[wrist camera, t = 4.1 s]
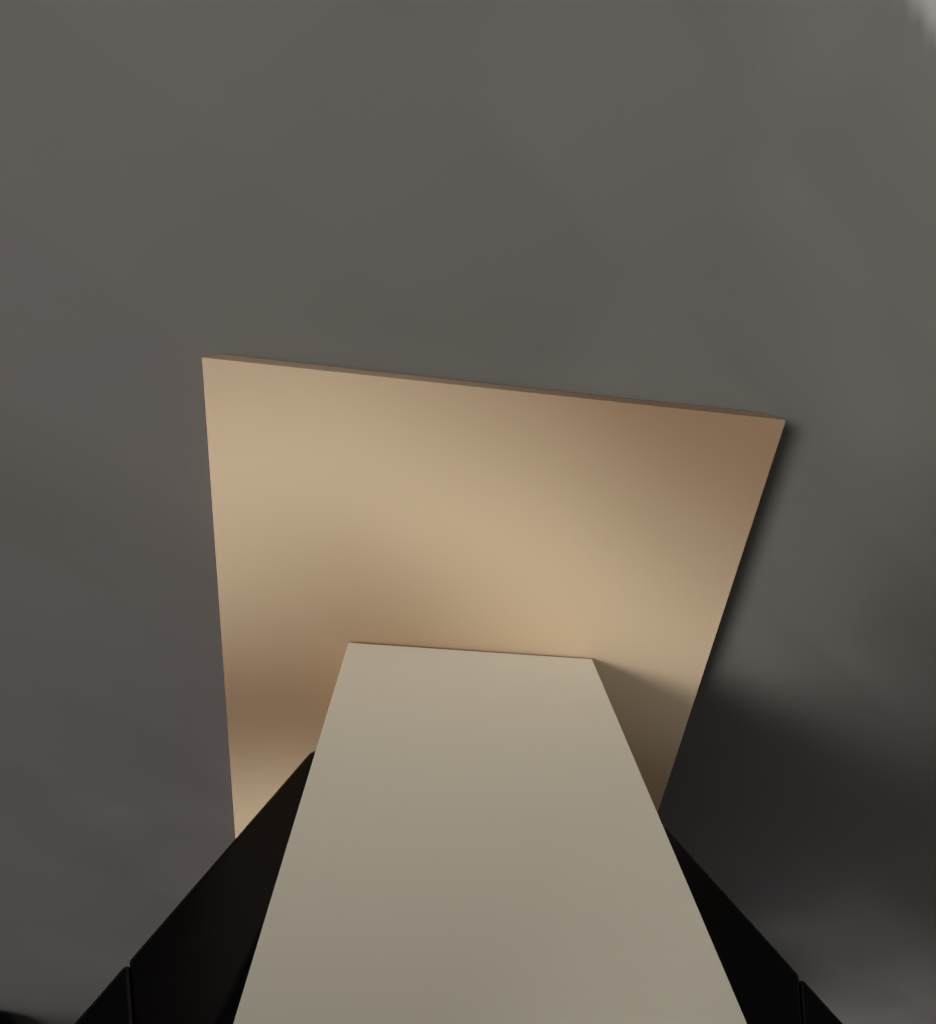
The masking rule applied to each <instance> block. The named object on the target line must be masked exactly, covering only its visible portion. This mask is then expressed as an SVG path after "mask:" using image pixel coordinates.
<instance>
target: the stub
mask: <svg viewBox="0 0 936 1024" xmlns="http://www.w3.org/2000/svg"><path fill="white" fill-rule="evenodd" d="M233 1024H747V1023H746V1020H745V1018H744V1016H743V1013H742V1011H741V1009H740V1006H739V1004H738V1002H737V999H736V997H735V995H734V992H733V990H732V987H731V985H730V983H729V980H728V978H727V976H726V973H725V971H724V969H723V966H722V964H721V962H720V959H719V957H718V955H717V952H716V950H715V948H714V945H713V943H712V940H711V938H710V936H709V933H708V931H707V929H706V926H705V924H704V922H703V919H702V917H701V915H700V912H699V910H698V908H697V905H696V903H695V901H694V898H693V896H692V893H691V891H690V889H689V886H688V884H687V882H686V879H685V877H684V875H683V872H682V870H681V868H680V865H679V863H678V861H677V858H676V856H675V853H674V851H673V849H672V846H671V844H670V842H669V839H668V837H667V835H666V832H665V830H664V828H663V825H662V823H661V821H660V818H659V816H658V814H657V811H656V809H655V806H654V804H653V802H652V799H651V797H650V795H649V792H648V790H647V788H646V785H645V783H644V781H643V778H642V776H641V774H640V771H639V769H638V767H637V764H636V762H635V759H634V757H633V755H632V752H631V750H630V748H629V745H628V743H627V741H626V738H625V736H624V734H623V731H622V729H621V727H620V724H619V722H618V720H617V717H616V715H615V712H614V710H613V708H612V705H611V703H610V701H609V698H608V696H607V694H606V691H605V689H604V687H603V684H602V682H601V680H600V677H599V675H598V673H597V670H596V668H595V665H594V663H593V661H592V659H581V658H566V657H552V656H537V655H522V654H508V653H493V652H478V651H463V650H449V649H434V648H419V647H405V646H390V645H375V644H361V643H348V646H347V649H346V652H345V655H344V659H343V662H342V665H341V669H340V672H339V675H338V679H337V682H336V685H335V689H334V692H333V695H332V698H331V702H330V705H329V708H328V712H327V715H326V718H325V722H324V725H323V728H322V732H321V735H320V738H319V742H318V745H317V748H316V751H315V755H314V758H313V761H312V765H311V768H310V771H309V775H308V778H307V781H306V785H305V788H304V791H303V794H302V798H301V801H300V804H299V808H298V811H297V814H296V818H295V821H294V824H293V828H292V831H291V834H290V838H289V841H288V844H287V847H286V851H285V854H284V857H283V861H282V864H281V867H280V871H279V874H278V877H277V881H276V884H275V887H274V890H273V894H272V897H271V900H270V904H269V907H268V910H267V914H266V917H265V920H264V924H263V927H262V930H261V934H260V937H259V940H258V943H257V947H256V950H255V953H254V957H253V960H252V963H251V967H250V970H249V973H248V977H247V980H246V983H245V986H244V990H243V993H242V996H241V1000H240V1003H239V1006H238V1010H237V1013H236V1016H235V1020H234V1023H233Z"/></svg>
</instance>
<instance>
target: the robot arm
mask: <svg viewBox="0 0 936 1024" xmlns="http://www.w3.org/2000/svg"><path fill="white" fill-rule="evenodd" d="M314 755H315V751H313V752H311V753H310V754H309V755H308V756H307V757H306V758H305V759H304V760H303V762H302V763H301V764H300V765H299V766H298V767H297V769H296V770H295V771H294V772H293V773H292V774H291V775H290V777H289V778H288V779H287V780H286V781H285V782H284V784H283V785H282V786H281V787H280V788H279V789H278V790H277V792H276V793H275V794H274V795H273V796H272V797H271V799H270V800H269V801H268V802H267V803H266V804H265V805H264V807H263V808H262V809H261V810H260V811H259V812H258V814H257V815H256V816H255V817H254V818H253V819H252V820H251V822H250V823H249V824H248V825H247V826H246V827H245V829H244V830H243V831H242V832H241V833H240V834H239V835H238V837H237V838H236V839H235V840H234V841H233V842H232V844H231V845H230V846H229V847H228V848H227V849H226V850H225V852H224V853H223V854H222V855H221V856H220V857H219V859H218V860H217V861H216V862H215V863H214V864H213V865H212V867H211V868H210V869H209V870H208V871H207V872H206V874H205V875H204V876H203V877H202V878H201V879H200V880H199V882H198V883H197V884H196V885H195V886H194V887H193V889H192V890H191V891H190V892H189V893H188V894H187V895H186V897H185V898H184V899H183V900H182V901H181V902H180V904H179V905H178V906H177V907H176V908H175V909H174V910H173V912H172V913H171V914H170V915H169V916H168V917H167V919H166V920H165V921H164V922H163V923H162V924H161V925H160V927H159V928H158V929H157V930H156V931H155V932H154V934H153V935H152V936H151V937H150V938H149V939H148V940H147V942H146V943H145V944H144V945H143V946H142V947H141V949H140V950H139V951H138V952H137V953H136V954H135V955H134V957H133V958H132V959H131V961H130V968H129V967H124V968H123V969H122V970H121V971H120V972H119V973H118V975H117V976H116V977H115V978H114V979H113V980H112V982H111V983H110V984H109V985H108V986H107V987H106V989H105V990H104V991H103V992H102V993H101V994H100V996H99V997H98V998H97V999H96V1000H95V1001H94V1002H93V1004H92V1005H91V1006H90V1007H89V1008H88V1009H87V1010H86V1011H85V1012H84V1014H83V1015H82V1016H81V1017H80V1018H79V1019H78V1020H77V1021H76V1022H75V1024H233V1023H234V1020H235V1016H236V1013H237V1010H238V1006H239V1003H240V1000H241V996H242V993H243V990H244V986H245V983H246V980H247V977H248V973H249V970H250V967H251V963H252V960H253V957H254V953H255V950H256V947H257V943H258V940H259V937H260V934H261V930H262V927H263V924H264V920H265V917H266V914H267V910H268V907H269V904H270V900H271V897H272V894H273V890H274V887H275V884H276V881H277V877H278V874H279V871H280V867H281V864H282V861H283V857H284V854H285V851H286V847H287V844H288V841H289V838H290V834H291V831H292V828H293V824H294V821H295V818H296V814H297V811H298V808H299V804H300V801H301V798H302V794H303V791H304V788H305V785H306V781H307V778H308V775H309V771H310V768H311V765H312V761H313V758H314ZM663 828H664V830H665V832H666V835H667V837H668V839H669V842H670V844H671V846H672V849H673V851H674V853H675V856H676V858H677V861H678V863H679V865H680V868H681V870H682V872H683V875H684V877H685V879H686V882H687V884H688V886H689V889H690V891H691V893H692V896H693V898H694V901H695V903H696V905H697V908H698V910H699V912H700V915H701V917H702V919H703V922H704V924H705V926H706V929H707V931H708V933H709V936H710V938H711V940H712V943H713V945H714V948H715V950H716V952H717V955H718V957H719V959H720V962H721V964H722V966H723V969H724V971H725V973H726V976H727V978H728V980H729V983H730V985H731V987H732V990H733V992H734V995H735V997H736V999H737V1002H738V1004H739V1006H740V1009H741V1011H742V1013H743V1016H744V1018H745V1020H746V1023H747V1024H842V1023H841V1021H840V1020H839V1019H838V1018H837V1017H836V1016H835V1015H834V1014H833V1013H832V1012H831V1011H830V1010H829V1008H828V1007H827V1006H826V1005H825V1004H824V1003H823V1002H822V1001H821V1000H820V999H819V997H818V996H817V995H816V994H815V993H814V992H813V991H812V990H811V989H810V987H809V986H808V985H807V984H806V983H805V982H804V981H799V977H798V975H797V973H796V972H795V971H794V970H793V969H792V968H791V967H790V966H789V964H788V963H787V962H786V961H785V960H784V959H783V958H782V957H781V956H780V954H779V953H778V952H777V951H776V950H775V949H774V948H773V947H772V946H771V944H770V943H769V942H768V941H767V940H766V939H765V938H764V937H763V936H762V934H761V933H760V932H759V931H758V930H757V929H756V928H755V927H754V926H753V924H752V923H751V922H750V921H749V920H748V919H747V918H746V917H745V916H744V915H743V913H742V912H741V911H740V910H739V909H738V908H737V907H736V906H735V905H734V903H733V902H732V901H731V900H730V899H729V898H728V897H727V896H726V895H725V893H724V892H723V891H722V890H721V889H720V888H719V887H718V886H717V885H716V883H715V882H714V881H713V880H712V879H711V878H710V877H709V876H708V875H707V873H706V872H705V871H704V870H703V869H702V868H701V867H700V866H699V865H698V863H697V862H696V861H695V860H694V859H693V858H692V857H691V856H690V855H689V854H688V852H687V851H686V850H685V849H684V848H683V847H682V846H681V845H680V844H679V842H678V841H677V840H676V839H675V838H674V837H673V836H672V835H671V834H670V832H669V831H668V830H667V829H666V828H665V827H664V826H663Z"/></svg>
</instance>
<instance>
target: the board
mask: <svg viewBox="0 0 936 1024" xmlns="http://www.w3.org/2000/svg"><path fill="white" fill-rule="evenodd" d="M202 364H203V378H204V392H205V407H206V421H207V436H208V450H209V464H210V479H211V493H212V508H213V522H214V536H215V551H216V565H217V580H218V594H219V608H220V623H221V637H222V652H223V666H224V680H225V695H226V709H227V724H228V738H229V753H230V767H231V781H232V796H233V810H234V825H235V839H236V838H237V837H238V835H239V834H240V833H241V832H242V831H243V830H244V829H245V827H246V826H247V825H248V824H249V823H250V822H251V820H252V819H253V818H254V817H255V816H256V815H257V814H258V812H259V811H260V810H261V809H262V808H263V807H264V805H265V804H266V803H267V802H268V801H269V800H270V799H271V797H272V796H273V795H274V794H275V793H276V792H277V790H278V789H279V788H280V787H281V786H282V785H283V784H284V782H285V781H286V780H287V779H288V778H289V777H290V775H291V774H292V773H293V772H294V771H295V770H296V769H297V767H298V766H299V765H300V764H301V763H302V762H303V760H304V759H305V758H306V757H307V756H308V755H309V754H310V753H311V752H313V751H316V748H317V745H318V742H319V738H320V735H321V732H322V728H323V725H324V722H325V718H326V715H327V712H328V708H329V705H330V702H331V698H332V695H333V692H334V689H335V685H336V682H337V679H338V675H339V672H340V669H341V665H342V662H343V659H344V655H345V652H346V649H347V646H348V643H361V644H375V645H390V646H405V647H419V648H434V649H449V650H463V651H478V652H493V653H508V654H522V655H537V656H552V657H566V658H581V659H592V661H593V663H594V665H595V668H596V670H597V673H598V675H599V677H600V680H601V682H602V684H603V687H604V689H605V691H606V694H607V696H608V698H609V701H610V703H611V705H612V708H613V710H614V712H615V715H616V717H617V720H618V722H619V724H620V727H621V729H622V731H623V734H624V736H625V738H626V741H627V743H628V745H629V748H630V750H631V752H632V755H633V757H634V759H635V762H636V764H637V767H638V769H639V771H640V774H641V776H642V778H643V781H644V783H645V785H646V788H647V790H648V792H649V795H650V797H651V799H652V802H653V804H654V806H655V809H656V811H657V813H658V810H659V807H660V804H661V801H662V798H663V795H664V792H665V789H666V786H667V783H668V780H669V777H670V774H671V770H672V767H673V764H674V761H675V758H676V755H677V752H678V749H679V746H680V743H681V740H682V737H683V734H684V731H685V728H686V725H687V721H688V718H689V715H690V712H691V709H692V706H693V703H694V700H695V697H696V694H697V691H698V688H699V685H700V682H701V679H702V676H703V673H704V669H705V666H706V663H707V660H708V657H709V654H710V651H711V648H712V645H713V642H714V639H715V636H716V633H717V630H718V627H719V624H720V620H721V617H722V614H723V611H724V608H725V605H726V602H727V599H728V596H729V593H730V590H731V587H732V584H733V581H734V578H735V575H736V572H737V568H738V565H739V562H740V559H741V556H742V553H743V550H744V547H745V544H746V541H747V538H748V535H749V532H750V529H751V526H752V523H753V519H754V516H755V513H756V510H757V507H758V504H759V501H760V498H761V495H762V492H763V489H764V486H765V483H766V480H767V477H768V474H769V471H770V467H771V464H772V461H773V458H774V455H775V452H776V449H777V446H778V443H779V440H780V437H781V434H782V431H783V428H784V425H785V422H786V420H784V419H781V418H777V417H774V416H771V415H767V414H764V413H759V412H750V411H741V410H732V409H722V408H713V407H704V406H694V405H685V404H676V403H667V402H657V401H648V400H639V399H629V398H620V397H611V396H602V395H592V394H583V393H574V392H565V391H555V390H546V389H537V388H527V387H518V386H509V385H500V384H490V383H481V382H472V381H462V380H453V379H444V378H435V377H425V376H416V375H407V374H397V373H388V372H379V371H370V370H360V369H351V368H342V367H333V366H323V365H314V364H305V363H295V362H286V361H277V360H268V359H258V358H249V357H240V356H230V355H215V356H209V357H203V358H202Z"/></svg>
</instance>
